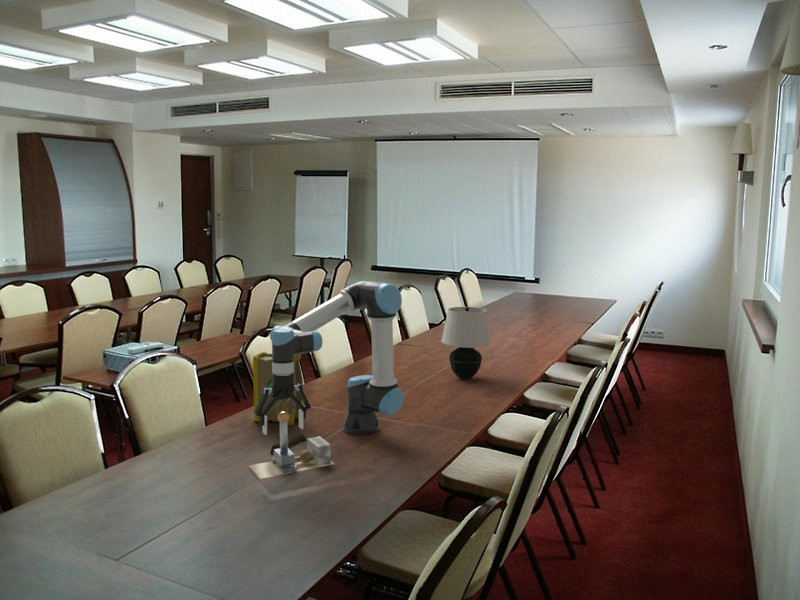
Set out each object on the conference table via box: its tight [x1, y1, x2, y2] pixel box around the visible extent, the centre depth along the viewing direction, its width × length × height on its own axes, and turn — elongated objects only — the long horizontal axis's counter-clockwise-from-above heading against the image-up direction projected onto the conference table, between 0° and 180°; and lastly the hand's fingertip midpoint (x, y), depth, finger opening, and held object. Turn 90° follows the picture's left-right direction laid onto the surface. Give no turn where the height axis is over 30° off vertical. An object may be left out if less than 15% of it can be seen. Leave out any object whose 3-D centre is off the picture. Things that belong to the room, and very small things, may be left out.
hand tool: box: [270, 433, 307, 455], centre depth 260 cm, size 19×4×5 cm, turn 148°
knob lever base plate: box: [248, 435, 335, 484], centre depth 242 cm, size 28×13×8 cm, turn 120°
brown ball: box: [299, 449, 312, 462], centre depth 244 cm, size 4×4×4 cm
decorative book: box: [252, 351, 304, 426], centre depth 293 cm, size 20×11×30 cm, turn 77°
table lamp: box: [440, 306, 492, 381], centre depth 365 cm, size 27×27×40 cm
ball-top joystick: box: [271, 411, 297, 473], centre depth 239 cm, size 5×12×20 cm, turn 30°
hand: (283, 430), depth 238 cm, fingers open, 13 cm apart
